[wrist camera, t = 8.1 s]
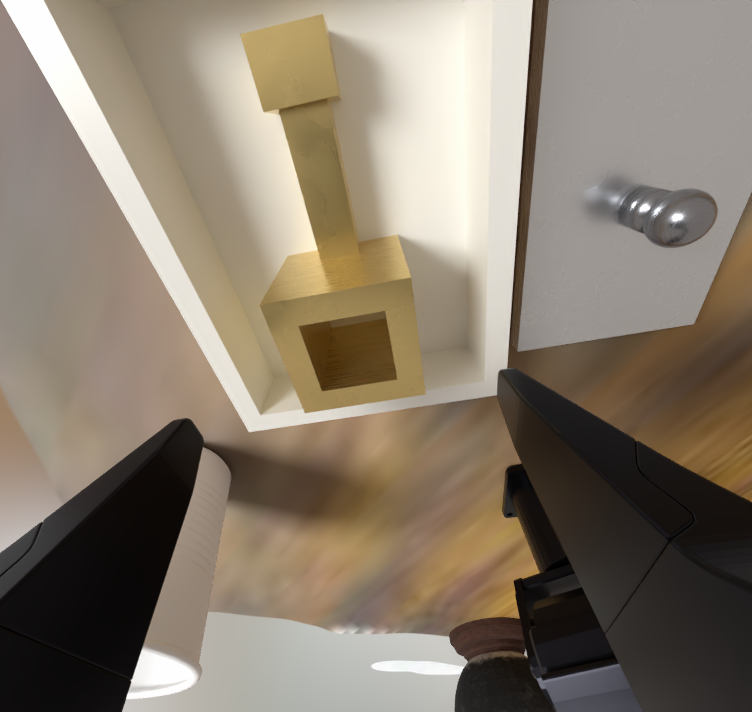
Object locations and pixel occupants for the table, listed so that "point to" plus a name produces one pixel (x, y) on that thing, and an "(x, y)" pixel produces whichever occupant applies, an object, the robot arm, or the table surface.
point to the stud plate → (630, 164)
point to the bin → (278, 176)
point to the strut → (331, 243)
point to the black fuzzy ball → (495, 669)
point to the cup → (185, 590)
